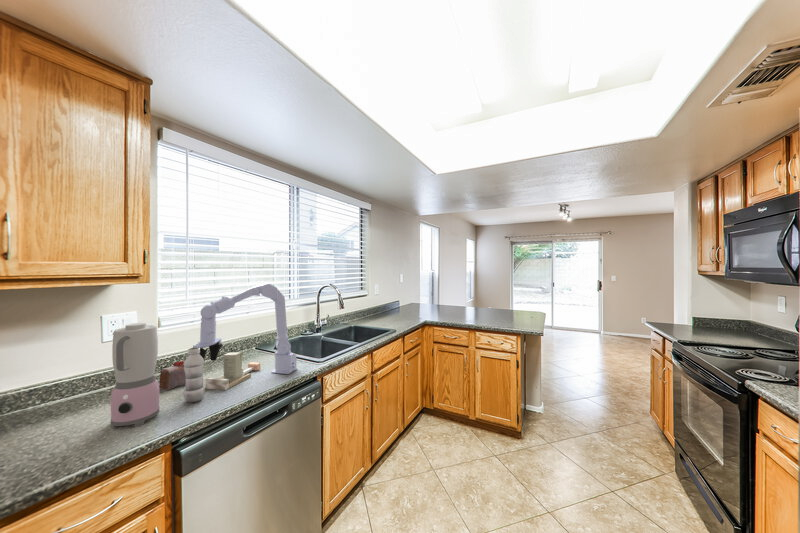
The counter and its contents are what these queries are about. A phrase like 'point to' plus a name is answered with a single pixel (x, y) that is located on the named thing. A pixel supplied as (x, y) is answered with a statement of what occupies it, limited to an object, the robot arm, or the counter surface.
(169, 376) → the food item
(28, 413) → the counter surface
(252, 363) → the peach and white mallet
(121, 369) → the blender
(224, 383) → the channel
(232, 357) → the skincare box
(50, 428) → the counter surface
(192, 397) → the plastic bottle
